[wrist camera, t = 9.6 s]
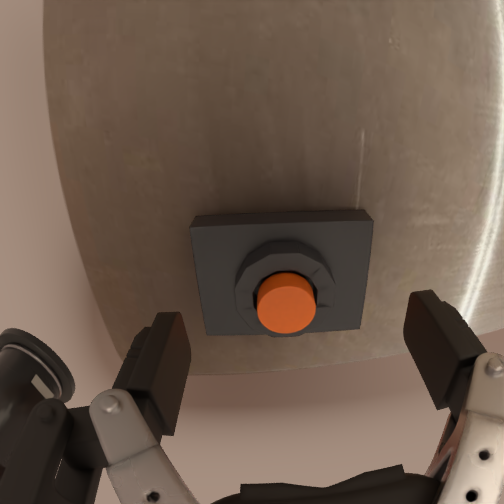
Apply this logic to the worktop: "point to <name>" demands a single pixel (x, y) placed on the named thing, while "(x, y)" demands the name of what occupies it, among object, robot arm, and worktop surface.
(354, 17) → the worktop surface
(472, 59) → the worktop surface
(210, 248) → the button box
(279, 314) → the button
